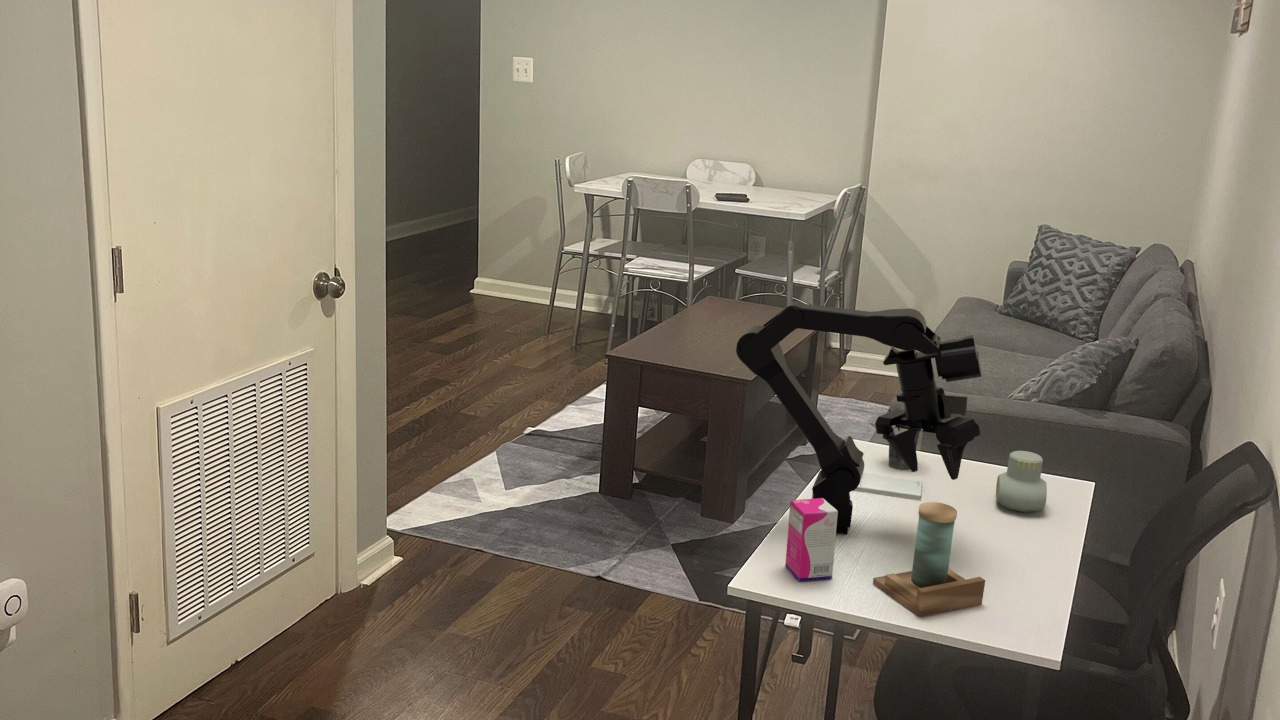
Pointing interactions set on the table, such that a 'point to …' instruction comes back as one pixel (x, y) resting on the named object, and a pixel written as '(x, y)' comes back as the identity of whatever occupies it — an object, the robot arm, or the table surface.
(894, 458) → the beverage cup
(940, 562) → the oak spool
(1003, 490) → the air freshener
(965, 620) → the table surface
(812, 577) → the supplement box
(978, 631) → the table surface
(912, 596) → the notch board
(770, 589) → the table surface
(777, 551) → the table surface
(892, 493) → the hard drive
